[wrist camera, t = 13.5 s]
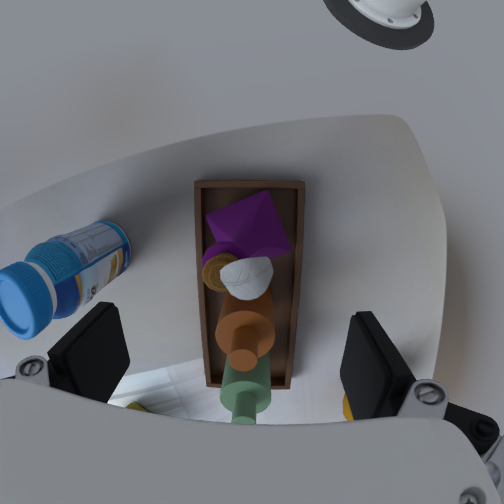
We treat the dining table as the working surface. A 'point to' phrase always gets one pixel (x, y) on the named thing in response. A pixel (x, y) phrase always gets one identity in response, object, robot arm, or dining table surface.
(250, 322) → the amber bottle
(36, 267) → the beverage bottle
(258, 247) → the perfume bottle
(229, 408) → the green bottle
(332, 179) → the dining table surface
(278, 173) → the dining table surface
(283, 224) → the tray
